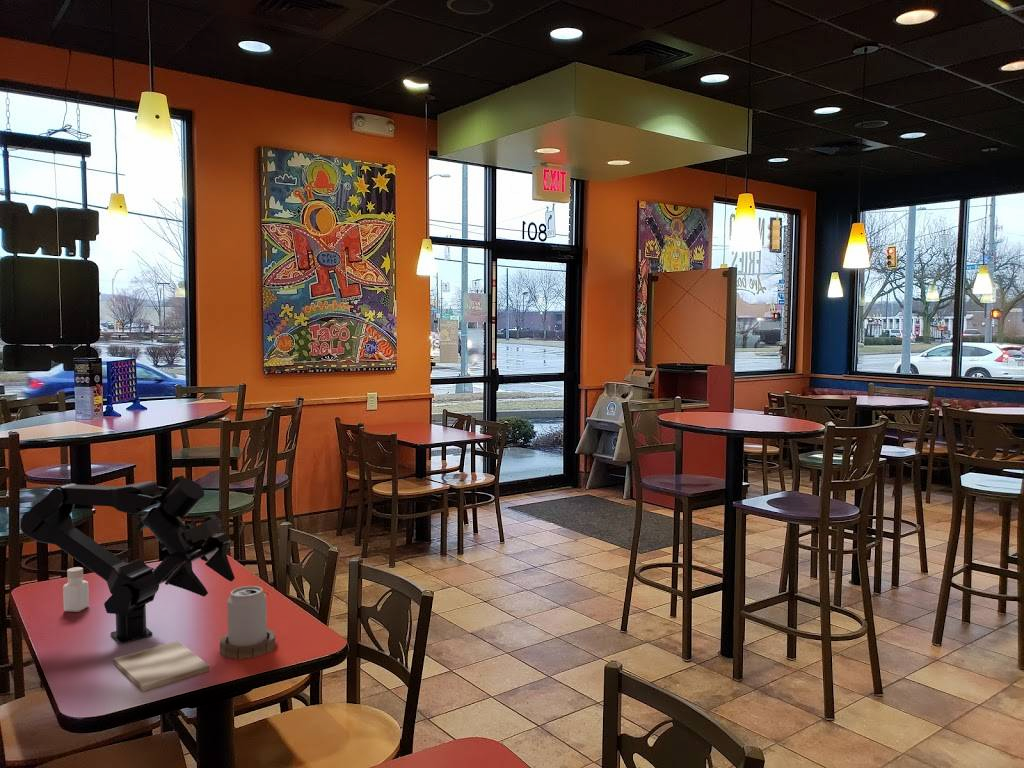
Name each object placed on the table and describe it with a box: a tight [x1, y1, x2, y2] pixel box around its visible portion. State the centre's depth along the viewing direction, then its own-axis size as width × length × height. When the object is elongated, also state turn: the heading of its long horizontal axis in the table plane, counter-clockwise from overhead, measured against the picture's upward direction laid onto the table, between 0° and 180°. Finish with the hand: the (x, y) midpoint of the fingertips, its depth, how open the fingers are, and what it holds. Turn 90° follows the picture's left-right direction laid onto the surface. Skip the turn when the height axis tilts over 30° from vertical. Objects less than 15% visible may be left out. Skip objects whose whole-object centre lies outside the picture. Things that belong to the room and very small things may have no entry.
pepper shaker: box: [62, 566, 90, 613], centre depth 174 cm, size 4×4×10 cm
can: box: [226, 585, 268, 647], centre depth 153 cm, size 8×8×12 cm
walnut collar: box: [219, 628, 276, 660], centre depth 153 cm, size 10×10×2 cm
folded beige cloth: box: [113, 640, 210, 692], centre depth 144 cm, size 16×12×1 cm
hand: (220, 587), depth 154 cm, fingers open, 9 cm apart
